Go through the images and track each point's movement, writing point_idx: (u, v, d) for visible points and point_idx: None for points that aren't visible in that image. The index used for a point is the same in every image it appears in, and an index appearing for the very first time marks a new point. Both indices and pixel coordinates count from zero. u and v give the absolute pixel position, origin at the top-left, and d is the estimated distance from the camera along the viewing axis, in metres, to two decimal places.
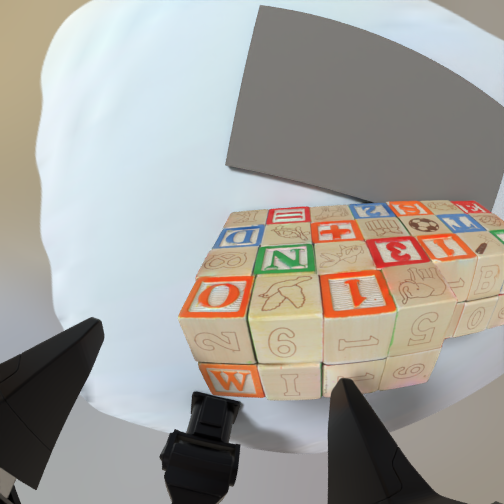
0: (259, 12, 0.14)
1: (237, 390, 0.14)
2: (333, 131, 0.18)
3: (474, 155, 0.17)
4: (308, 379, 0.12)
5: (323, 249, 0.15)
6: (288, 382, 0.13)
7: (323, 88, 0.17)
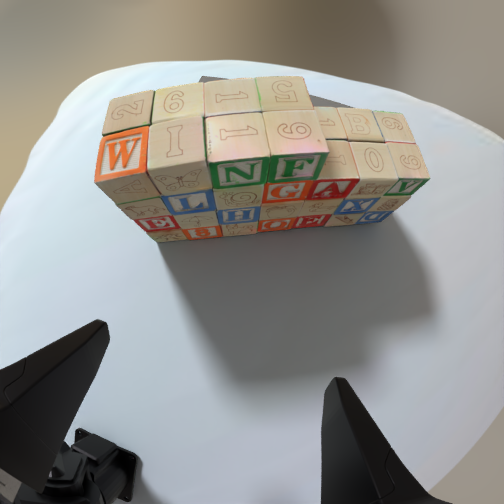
0: (200, 79, 0.30)
1: (121, 167, 0.13)
2: None
3: None
4: (191, 130, 0.13)
5: None
6: (172, 135, 0.13)
7: None
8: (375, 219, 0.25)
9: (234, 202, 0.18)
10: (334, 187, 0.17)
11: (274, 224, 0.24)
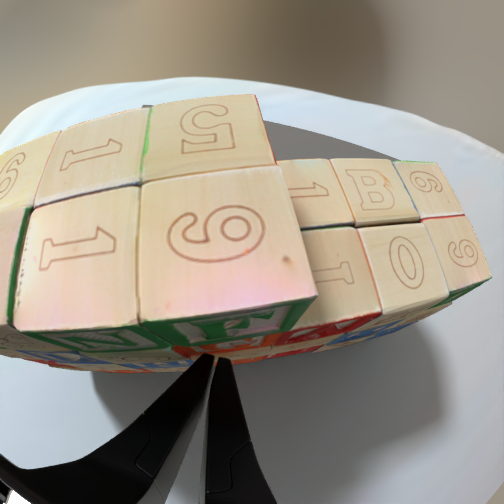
0: None
1: None
2: None
3: None
4: (2, 243, 0.05)
5: None
6: None
7: None
8: (389, 331, 0.15)
9: (135, 360, 0.09)
10: (327, 329, 0.08)
11: None
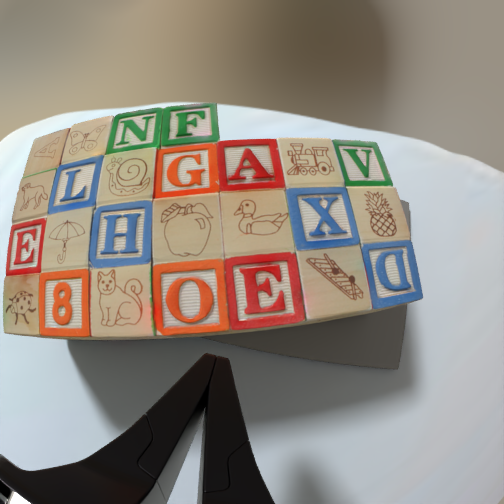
0: None
1: None
2: None
3: None
4: None
5: None
6: None
7: None
8: (405, 285, 0.12)
9: (119, 182, 0.12)
10: (249, 156, 0.13)
11: (187, 300, 0.11)
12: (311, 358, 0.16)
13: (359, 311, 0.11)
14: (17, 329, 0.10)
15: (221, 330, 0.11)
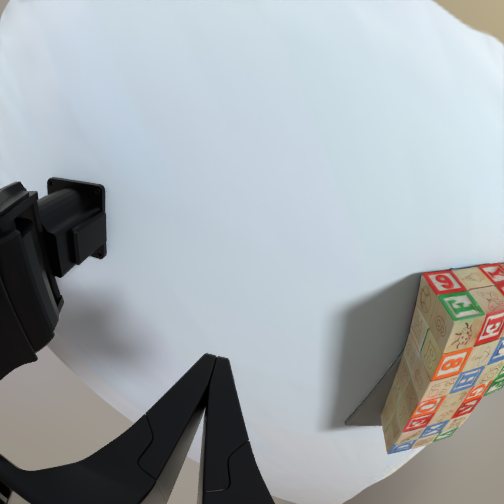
0: None
1: None
2: None
3: None
4: None
5: None
6: None
7: None
8: (395, 449, 0.23)
9: (489, 371, 0.16)
10: (469, 407, 0.19)
11: (427, 405, 0.18)
12: (369, 398, 0.27)
13: (395, 442, 0.21)
14: (451, 336, 0.14)
15: (411, 416, 0.19)
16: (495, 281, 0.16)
